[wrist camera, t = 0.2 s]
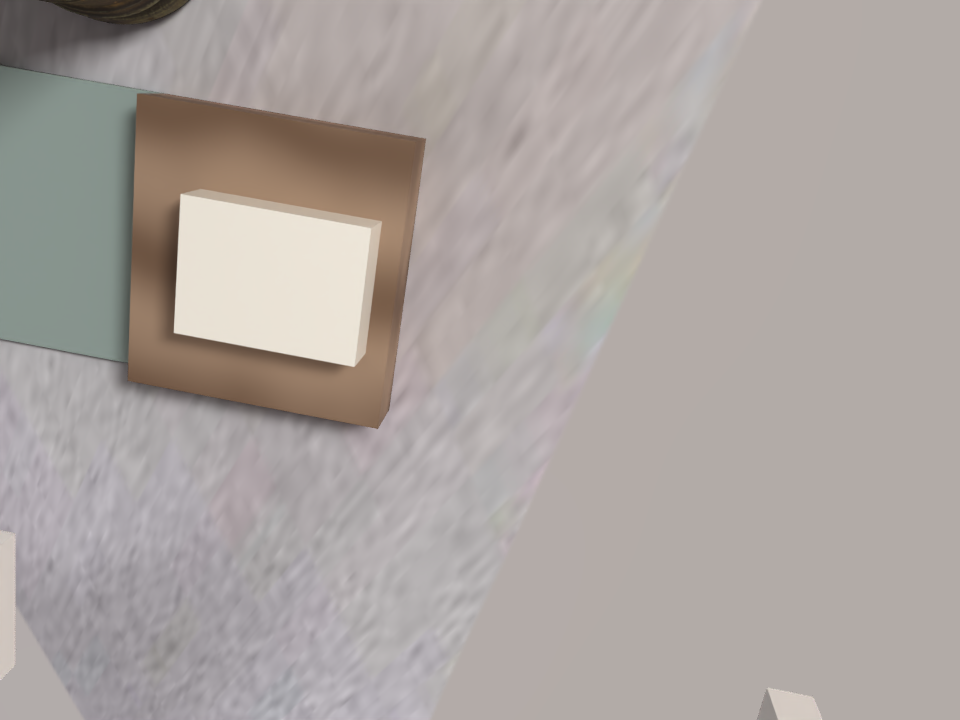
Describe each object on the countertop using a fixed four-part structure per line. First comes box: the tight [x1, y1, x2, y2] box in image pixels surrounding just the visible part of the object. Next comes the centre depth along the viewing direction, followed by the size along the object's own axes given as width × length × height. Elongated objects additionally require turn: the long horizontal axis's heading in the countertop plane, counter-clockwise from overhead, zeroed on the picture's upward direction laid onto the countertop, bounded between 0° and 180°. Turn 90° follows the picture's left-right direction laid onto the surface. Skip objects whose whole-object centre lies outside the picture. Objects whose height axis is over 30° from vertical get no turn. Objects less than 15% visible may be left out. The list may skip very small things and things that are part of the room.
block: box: [174, 189, 382, 367], centre depth 36 cm, size 6×8×2 cm
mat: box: [0, 65, 164, 363], centre depth 40 cm, size 13×11×1 cm
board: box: [128, 93, 426, 429], centre depth 39 cm, size 13×12×2 cm
